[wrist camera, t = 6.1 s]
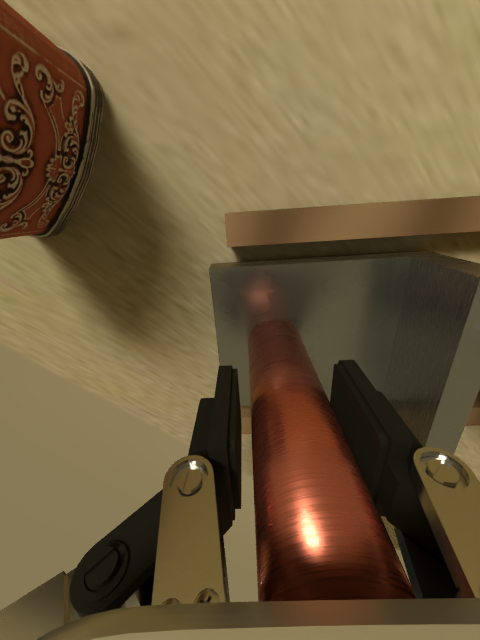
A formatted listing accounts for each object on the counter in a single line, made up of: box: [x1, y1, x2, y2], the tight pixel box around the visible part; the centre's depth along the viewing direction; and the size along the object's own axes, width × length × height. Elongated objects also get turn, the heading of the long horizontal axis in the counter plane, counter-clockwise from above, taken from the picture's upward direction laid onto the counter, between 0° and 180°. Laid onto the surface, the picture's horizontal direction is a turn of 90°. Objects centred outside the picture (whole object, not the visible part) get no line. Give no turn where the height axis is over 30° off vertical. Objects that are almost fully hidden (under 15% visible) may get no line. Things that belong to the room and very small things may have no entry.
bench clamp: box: [225, 196, 480, 434], centre depth 13 cm, size 22×14×6 cm, turn 94°
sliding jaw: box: [209, 251, 480, 602], centre depth 10 cm, size 12×9×13 cm
